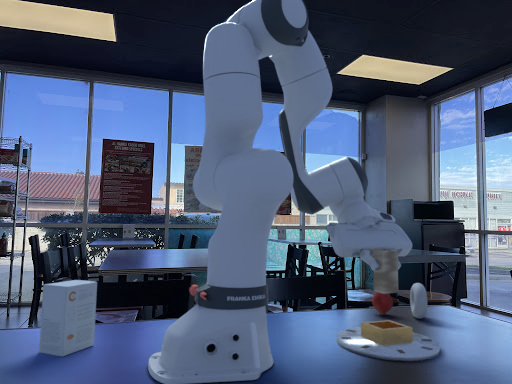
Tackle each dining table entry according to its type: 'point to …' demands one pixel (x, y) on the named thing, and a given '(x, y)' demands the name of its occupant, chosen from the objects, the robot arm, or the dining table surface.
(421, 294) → the donut
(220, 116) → the robot arm
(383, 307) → the onion
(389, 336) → the slotted white disc
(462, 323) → the dining table surface
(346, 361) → the dining table surface
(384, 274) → the tall beige block
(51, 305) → the small box
